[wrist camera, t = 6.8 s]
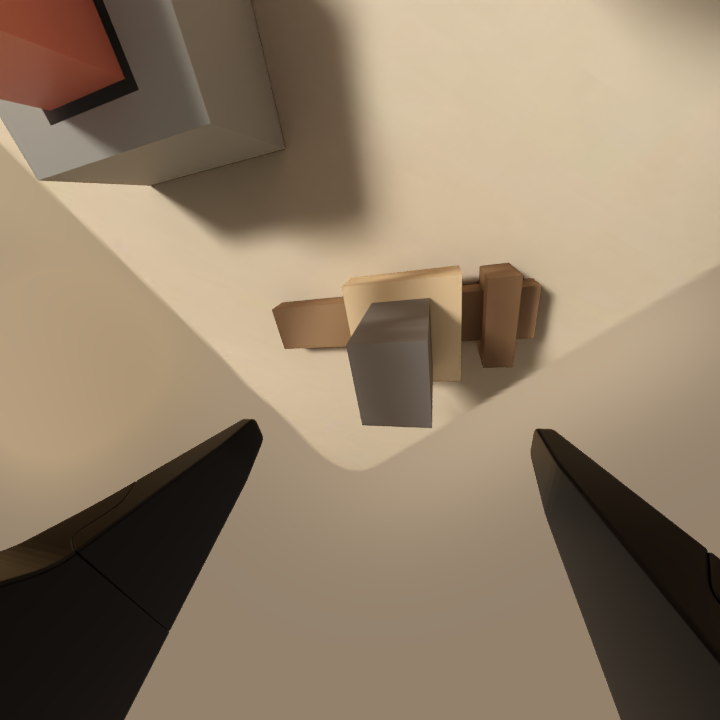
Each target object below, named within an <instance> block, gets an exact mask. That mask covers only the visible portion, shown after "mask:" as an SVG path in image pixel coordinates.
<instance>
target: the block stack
mask: <svg viewBox="0 0 720 720" xmlns="http://www.w3.org/2000/svg"><path fill="white" fill-rule="evenodd" d="M342 292H343V297H344V303H345V308H346V313H347V318H348V323H349V329H350V334H351V338H350V339H349V341H348V343H347V344H346V347H347V352H348V357H349V362H350V366H351V371H352V376H353V381H354V386H355V391H356V396H357V401H358V406H359V410H360V415H361V420H362V425H370V426H395V427H420V428H432V391H433V381H461V316H462V273H461V270H460V267H459V266H450V267H442V268H433V269H424V270H416V271H407V272H399V273H390V274H381V275H373V276H364V277H355V278H351V279H350V280H349V281H347V282H346V283H345V284H344V285H343V286H342Z"/></svg>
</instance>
